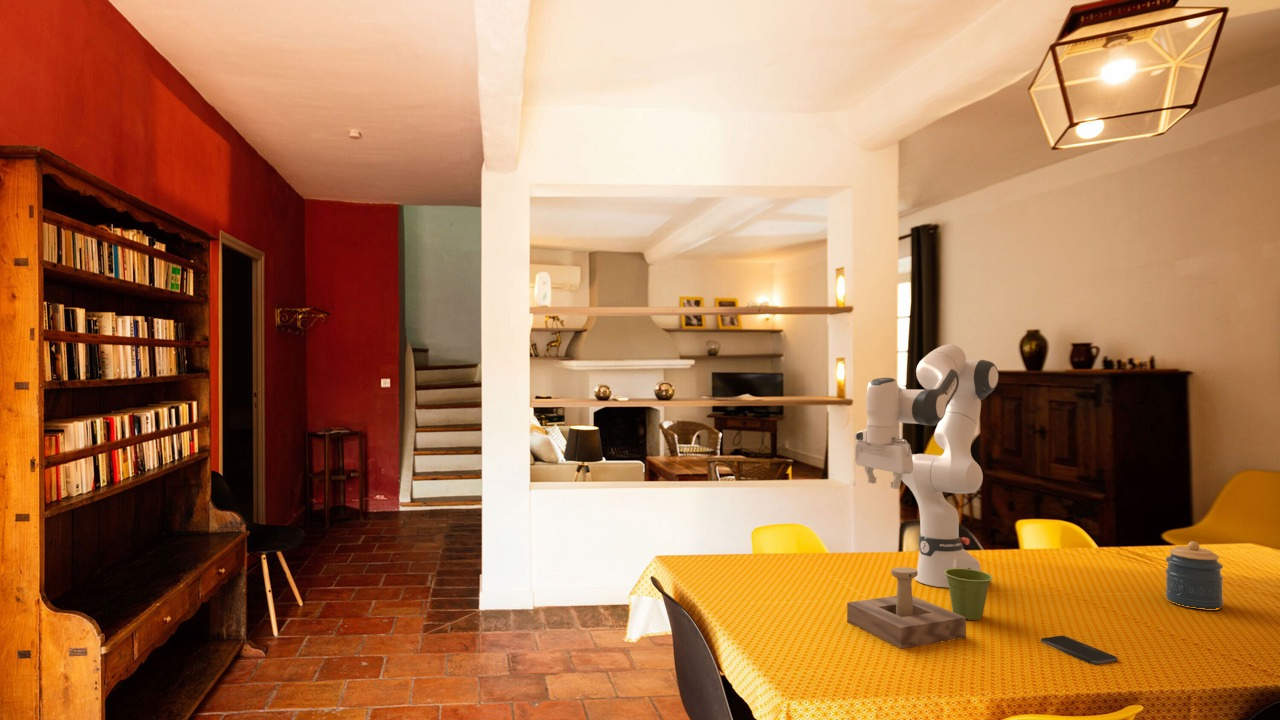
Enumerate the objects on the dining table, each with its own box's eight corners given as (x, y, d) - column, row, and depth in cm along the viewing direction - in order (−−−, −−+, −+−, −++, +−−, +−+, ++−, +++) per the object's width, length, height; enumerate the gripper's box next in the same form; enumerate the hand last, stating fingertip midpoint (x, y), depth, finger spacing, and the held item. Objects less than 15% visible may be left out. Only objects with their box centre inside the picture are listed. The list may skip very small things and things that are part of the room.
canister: (1225, 603, 209) (1225, 541, 209) (1220, 615, 200) (1220, 549, 200) (1169, 594, 218) (1169, 534, 218) (1162, 604, 208) (1161, 541, 209)
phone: (1093, 662, 165) (1038, 638, 179) (1093, 667, 165) (1038, 643, 179) (1120, 658, 167) (1063, 635, 182) (1120, 663, 167) (1063, 639, 182)
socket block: (908, 612, 200) (908, 594, 200) (965, 637, 182) (965, 617, 182) (847, 621, 193) (847, 602, 193) (900, 649, 174) (900, 627, 174)
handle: (921, 631, 186) (921, 571, 186) (899, 634, 184) (899, 573, 184) (909, 625, 190) (909, 566, 191) (887, 627, 189) (887, 568, 189)
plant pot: (972, 626, 189) (972, 582, 190) (934, 613, 200) (934, 571, 200) (1002, 619, 195) (1002, 576, 195) (964, 606, 205) (964, 566, 206)
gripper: (918, 439, 198) (919, 490, 198) (868, 432, 217) (868, 479, 217) (900, 440, 196) (900, 492, 196) (850, 433, 215) (851, 481, 215)
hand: (883, 485), depth 207 cm, fingers open, 8 cm apart
